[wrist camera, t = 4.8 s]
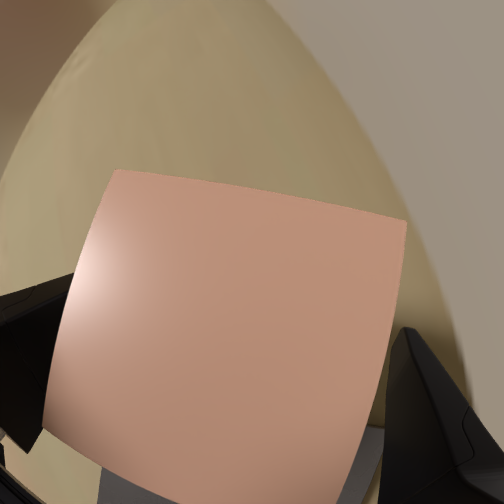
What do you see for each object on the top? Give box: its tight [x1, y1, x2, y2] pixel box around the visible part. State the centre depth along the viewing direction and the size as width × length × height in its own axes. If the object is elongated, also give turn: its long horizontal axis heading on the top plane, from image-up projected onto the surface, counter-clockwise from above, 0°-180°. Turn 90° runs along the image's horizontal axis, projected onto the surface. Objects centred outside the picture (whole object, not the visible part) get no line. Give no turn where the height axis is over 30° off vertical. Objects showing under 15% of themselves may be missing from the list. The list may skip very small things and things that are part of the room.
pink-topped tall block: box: [42, 169, 407, 504], centre depth 10 cm, size 6×6×12 cm
